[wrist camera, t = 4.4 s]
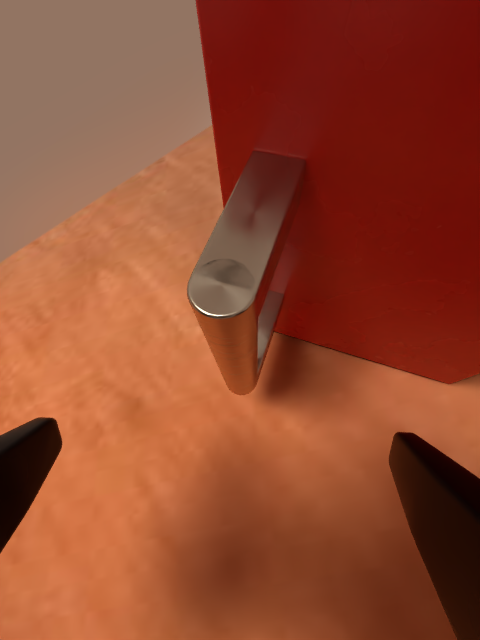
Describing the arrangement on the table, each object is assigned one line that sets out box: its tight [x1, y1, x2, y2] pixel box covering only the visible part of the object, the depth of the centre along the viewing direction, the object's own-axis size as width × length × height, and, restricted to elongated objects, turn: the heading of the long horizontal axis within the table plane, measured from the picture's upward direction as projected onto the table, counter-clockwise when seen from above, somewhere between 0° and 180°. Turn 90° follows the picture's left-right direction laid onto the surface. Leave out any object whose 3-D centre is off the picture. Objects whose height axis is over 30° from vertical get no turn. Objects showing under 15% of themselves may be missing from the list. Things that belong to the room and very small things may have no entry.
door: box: [187, 0, 480, 395], centre depth 10 cm, size 6×14×16 cm, turn 70°
